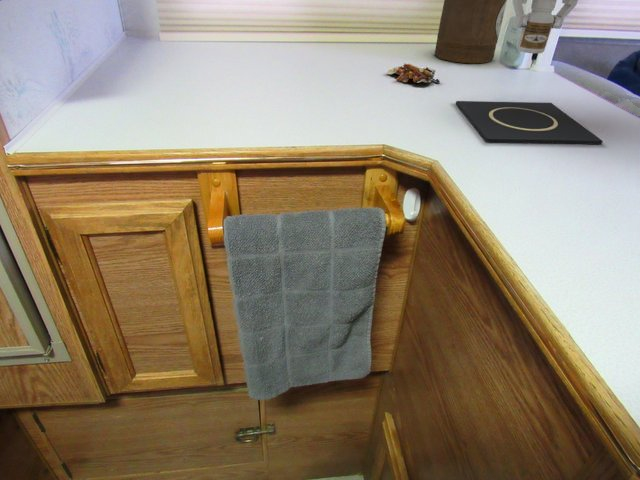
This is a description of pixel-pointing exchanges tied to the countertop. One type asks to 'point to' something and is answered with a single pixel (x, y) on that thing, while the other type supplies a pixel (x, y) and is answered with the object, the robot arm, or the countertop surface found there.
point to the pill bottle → (537, 27)
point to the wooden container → (469, 30)
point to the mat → (525, 123)
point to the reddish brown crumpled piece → (413, 73)
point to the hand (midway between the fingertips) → (536, 27)
